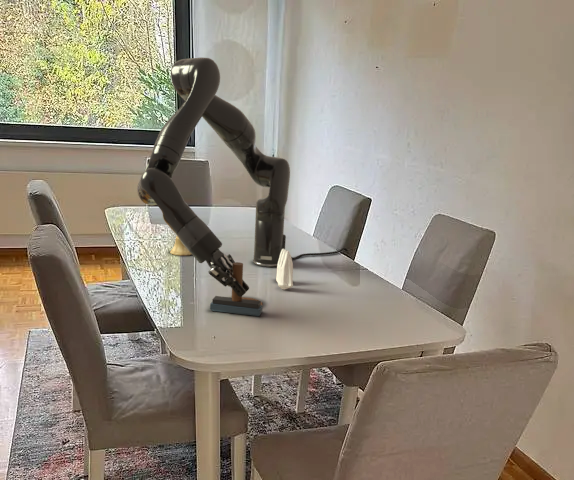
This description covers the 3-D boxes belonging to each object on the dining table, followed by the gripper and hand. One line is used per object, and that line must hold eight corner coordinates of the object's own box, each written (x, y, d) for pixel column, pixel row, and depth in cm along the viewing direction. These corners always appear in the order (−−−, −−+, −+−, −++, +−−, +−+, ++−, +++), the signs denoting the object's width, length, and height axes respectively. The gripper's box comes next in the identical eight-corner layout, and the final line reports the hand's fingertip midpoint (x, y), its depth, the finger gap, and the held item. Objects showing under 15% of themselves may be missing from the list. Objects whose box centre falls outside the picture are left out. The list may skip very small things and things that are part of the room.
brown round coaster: (250, 296, 176) (250, 295, 176) (269, 307, 169) (269, 306, 169) (218, 300, 171) (218, 300, 171) (237, 312, 163) (237, 311, 163)
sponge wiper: (213, 306, 165) (214, 259, 160) (262, 312, 164) (264, 264, 158) (210, 311, 162) (210, 262, 157) (259, 317, 161) (261, 268, 155)
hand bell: (166, 254, 210) (165, 205, 203) (174, 248, 218) (174, 201, 211) (190, 256, 209) (190, 207, 202) (198, 251, 217) (198, 203, 210)
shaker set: (292, 292, 181) (295, 254, 177) (278, 291, 181) (280, 253, 176) (289, 280, 192) (291, 244, 187) (275, 279, 192) (277, 243, 187)
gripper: (200, 235, 149) (249, 291, 153) (217, 224, 162) (261, 276, 165) (179, 255, 152) (227, 310, 156) (197, 243, 165) (241, 293, 168)
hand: (244, 292), depth 160 cm, fingers closed
